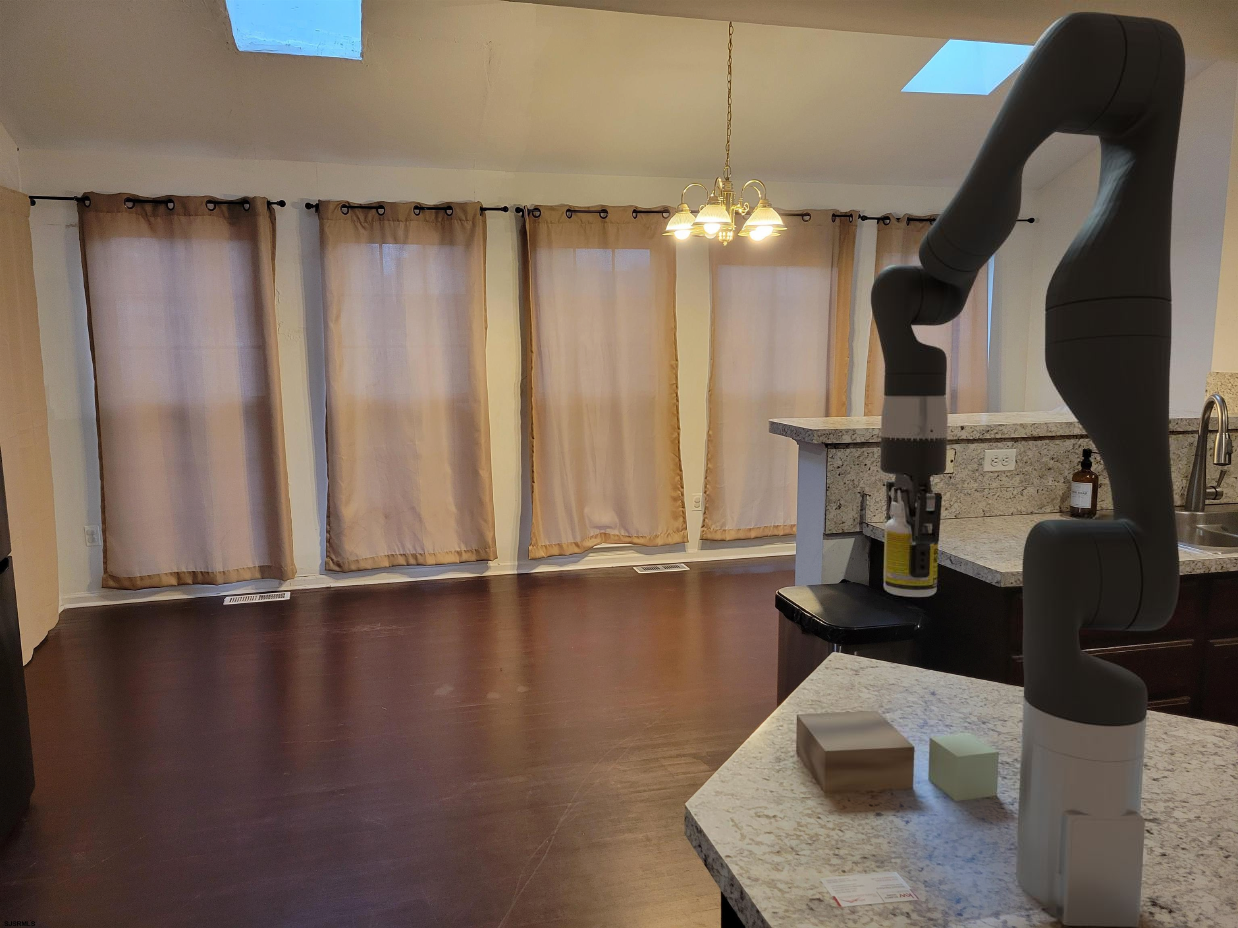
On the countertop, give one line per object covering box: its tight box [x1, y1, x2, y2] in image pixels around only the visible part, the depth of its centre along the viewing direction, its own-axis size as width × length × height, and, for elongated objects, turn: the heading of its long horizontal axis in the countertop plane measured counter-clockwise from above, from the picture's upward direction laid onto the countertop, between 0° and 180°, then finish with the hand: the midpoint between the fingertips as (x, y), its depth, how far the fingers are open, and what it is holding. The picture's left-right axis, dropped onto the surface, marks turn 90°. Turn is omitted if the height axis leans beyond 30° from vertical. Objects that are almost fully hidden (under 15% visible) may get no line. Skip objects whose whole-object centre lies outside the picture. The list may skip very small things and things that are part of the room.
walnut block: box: [795, 710, 915, 794], centre depth 95 cm, size 10×10×5 cm
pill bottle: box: [883, 502, 939, 598], centre depth 101 cm, size 6×6×11 cm
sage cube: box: [927, 732, 1000, 802], centre depth 90 cm, size 5×5×5 cm
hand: (910, 570), depth 101 cm, fingers closed on pill bottle, 6 cm apart
